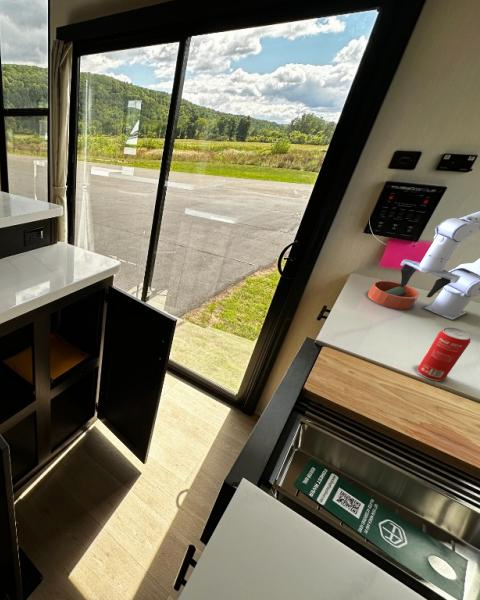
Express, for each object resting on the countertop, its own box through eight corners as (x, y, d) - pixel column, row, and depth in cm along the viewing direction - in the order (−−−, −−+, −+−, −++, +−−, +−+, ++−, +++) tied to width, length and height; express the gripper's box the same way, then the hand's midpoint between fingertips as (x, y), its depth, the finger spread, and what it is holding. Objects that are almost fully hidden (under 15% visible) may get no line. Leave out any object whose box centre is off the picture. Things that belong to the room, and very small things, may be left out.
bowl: (380, 288, 130) (386, 277, 128) (419, 304, 120) (427, 292, 117) (360, 295, 126) (365, 285, 123) (399, 313, 116) (406, 301, 113)
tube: (390, 293, 126) (395, 284, 124) (402, 298, 123) (408, 289, 121) (376, 299, 123) (381, 290, 121) (388, 304, 120) (394, 295, 118)
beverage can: (448, 383, 88) (484, 342, 80) (421, 380, 89) (453, 339, 81) (433, 368, 93) (465, 327, 85) (407, 365, 94) (437, 325, 86)
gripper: (404, 250, 108) (384, 284, 115) (461, 267, 96) (435, 304, 104) (416, 246, 110) (396, 280, 117) (473, 262, 99) (447, 299, 106)
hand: (415, 291), depth 111 cm, fingers open, 7 cm apart
